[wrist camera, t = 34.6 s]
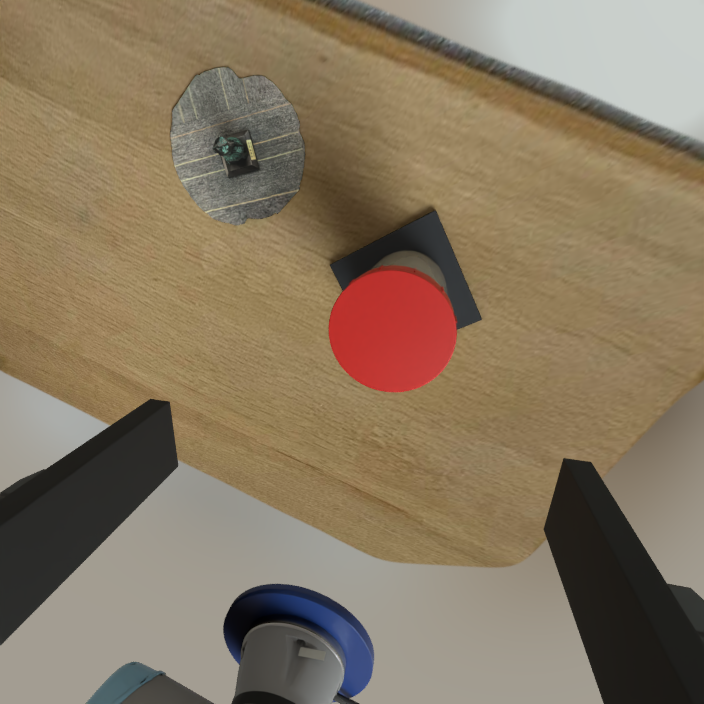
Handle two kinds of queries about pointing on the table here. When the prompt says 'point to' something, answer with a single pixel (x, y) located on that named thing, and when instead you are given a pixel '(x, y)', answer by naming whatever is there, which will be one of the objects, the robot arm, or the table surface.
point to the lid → (393, 329)
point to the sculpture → (237, 146)
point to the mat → (423, 239)
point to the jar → (415, 264)
